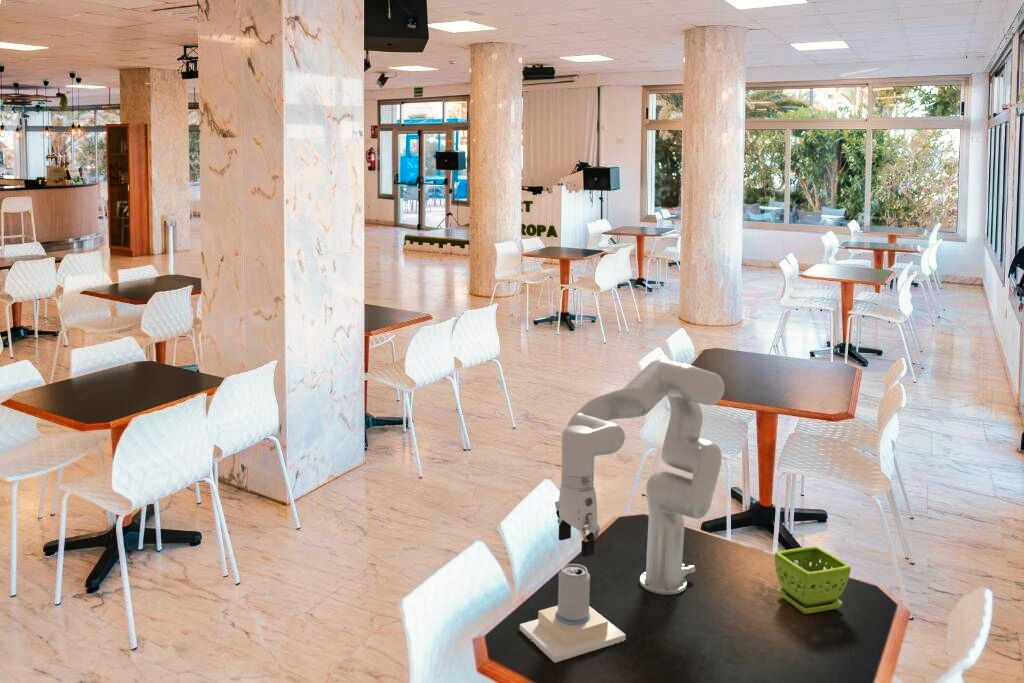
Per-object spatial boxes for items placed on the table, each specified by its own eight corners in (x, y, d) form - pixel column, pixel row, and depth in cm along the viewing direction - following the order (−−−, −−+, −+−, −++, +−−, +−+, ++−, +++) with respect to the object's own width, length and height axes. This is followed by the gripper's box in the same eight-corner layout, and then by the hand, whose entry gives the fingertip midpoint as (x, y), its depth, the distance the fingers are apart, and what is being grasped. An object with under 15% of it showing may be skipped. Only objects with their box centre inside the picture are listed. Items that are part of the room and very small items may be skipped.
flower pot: (848, 612, 224) (853, 566, 221) (803, 621, 219) (807, 574, 216) (812, 587, 237) (816, 543, 234) (769, 595, 232) (773, 550, 229)
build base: (587, 610, 223) (588, 591, 221) (625, 640, 209) (626, 620, 208) (519, 629, 213) (520, 610, 212) (554, 662, 199) (555, 642, 198)
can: (586, 624, 206) (588, 577, 203) (555, 621, 207) (556, 574, 205) (590, 609, 213) (592, 563, 210) (560, 605, 214) (561, 560, 212)
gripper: (612, 488, 197) (610, 558, 201) (570, 464, 212) (569, 530, 216) (584, 494, 193) (583, 565, 197) (544, 469, 208) (543, 536, 212)
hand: (575, 547), depth 206 cm, fingers open, 9 cm apart
